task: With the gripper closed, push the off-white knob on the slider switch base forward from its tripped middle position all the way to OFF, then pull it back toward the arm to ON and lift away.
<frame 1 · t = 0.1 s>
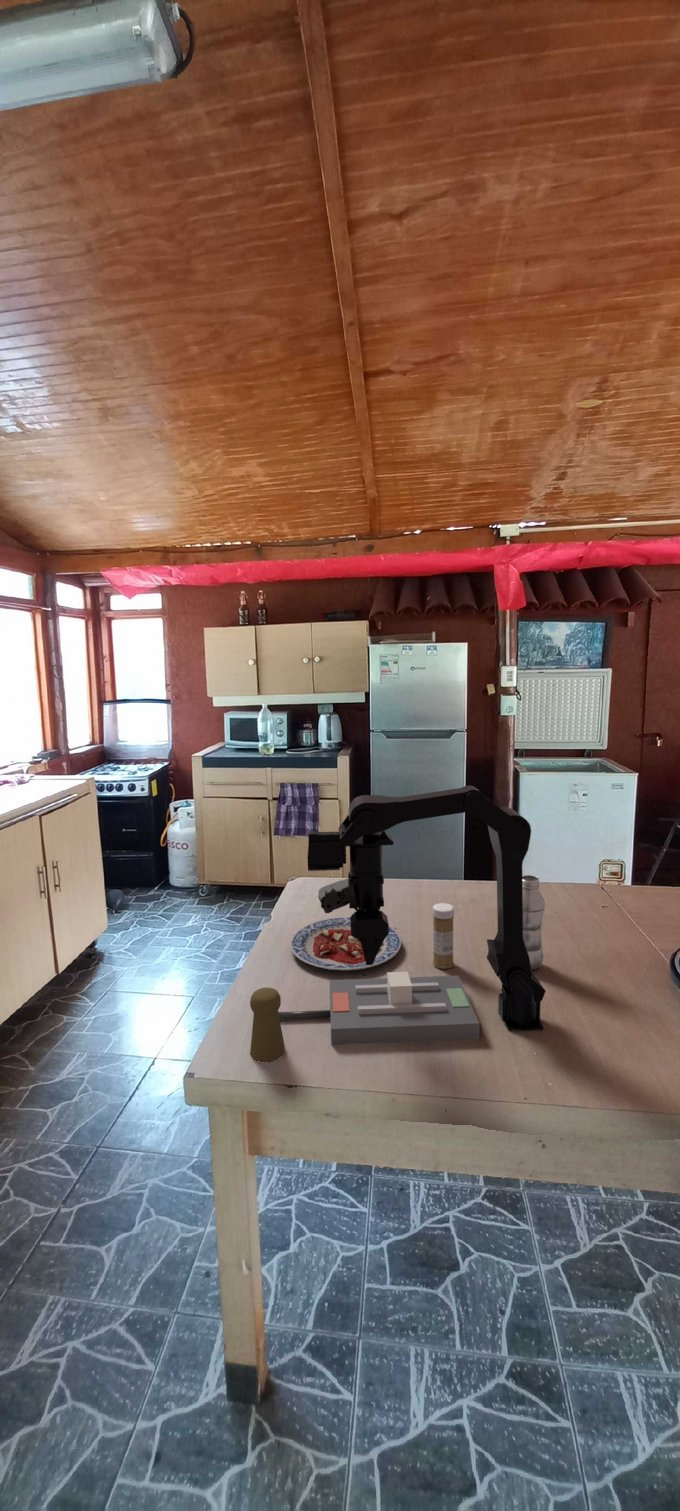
hand: (367, 951, 106), 14 cm above the table, tool pointing down, fingers open, 9 cm apart
olive peg pawn: (267, 1052, 101), on the table
sprinkles bottle: (442, 965, 129), on the table
plastic bottle: (527, 967, 128), on the table
slider switch base: (399, 1014, 111), on the table
ceramic plate: (345, 950, 137), on the table
switch knob: (399, 988, 110), point 5 cm above the table, slide at 4.0 cm
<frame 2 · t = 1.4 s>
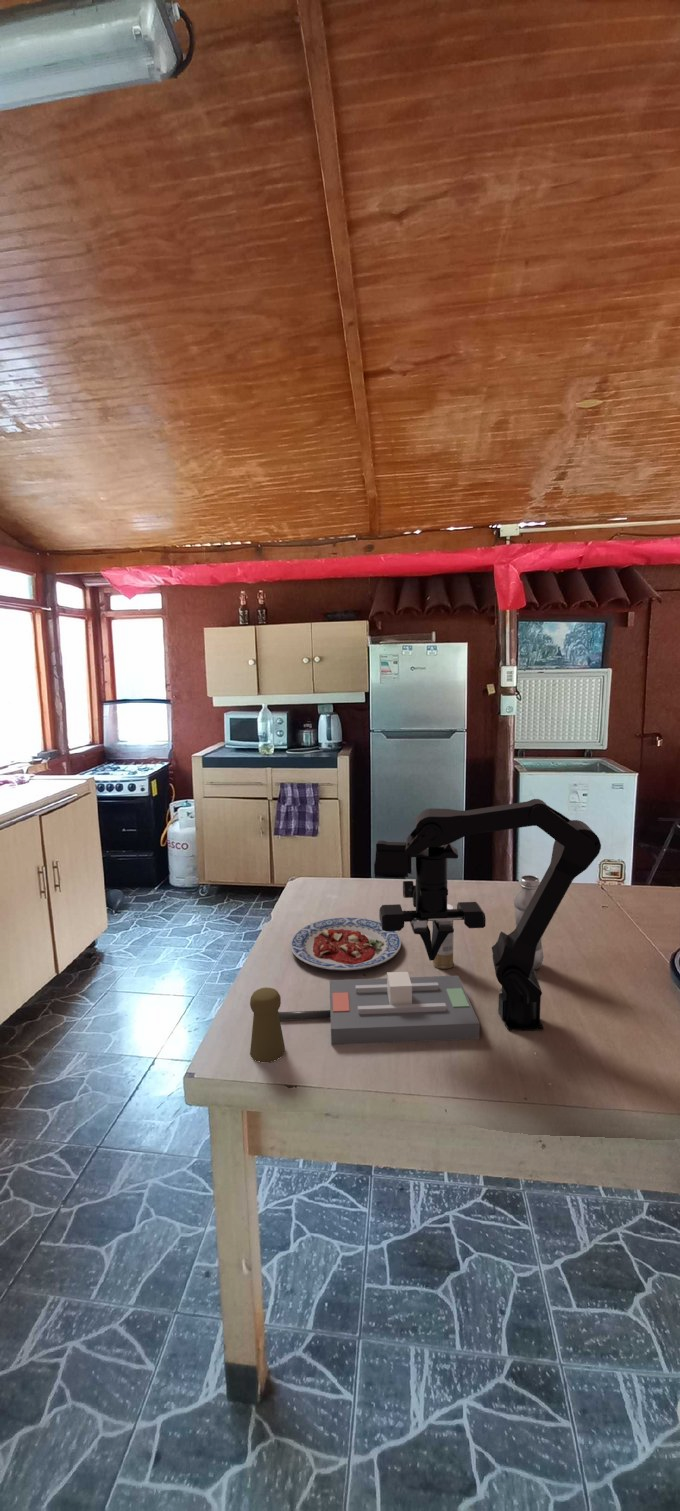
hand: (431, 959, 109), 11 cm above the table, tool pointing down, fingers closed
nothing on the table moved.
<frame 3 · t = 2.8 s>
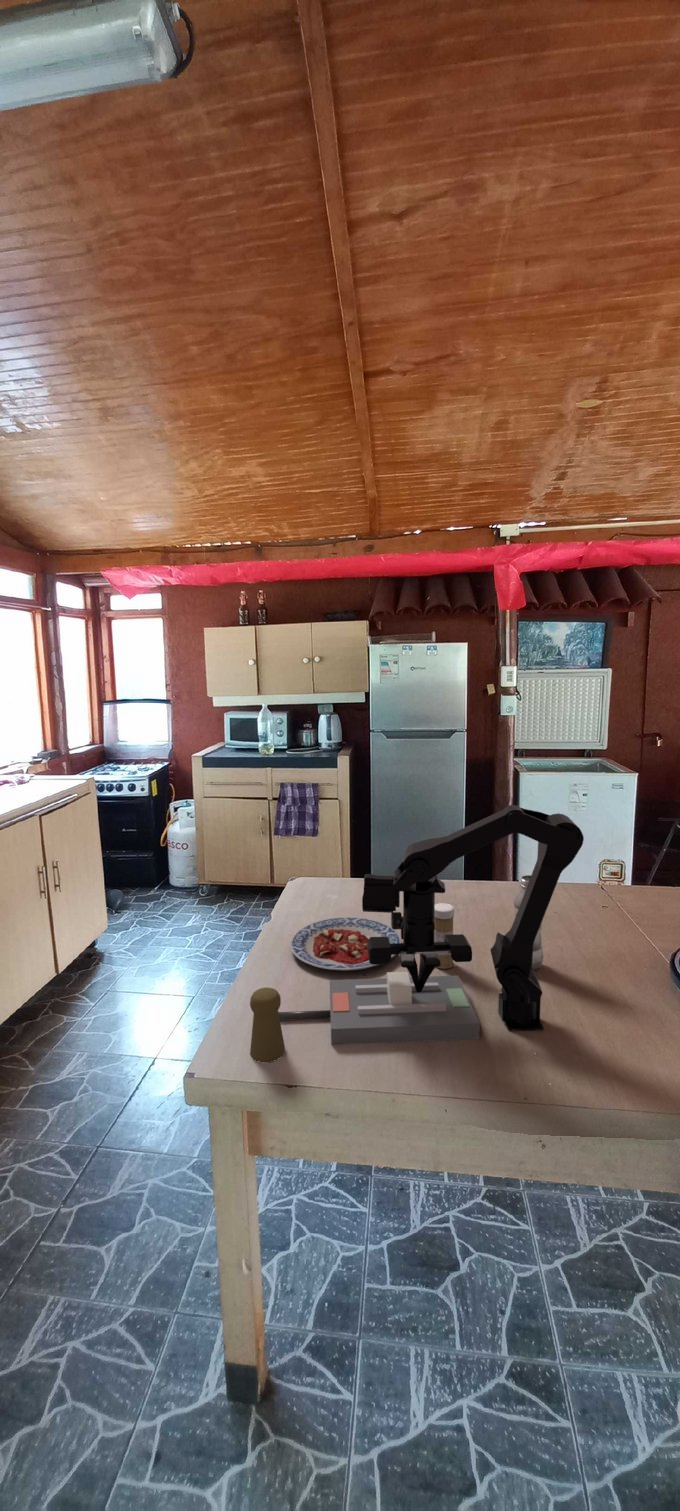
hand: (418, 991, 110), 5 cm above the table, tool pointing down, fingers closed
switch knob: (399, 988, 110), point 5 cm above the table, slide at 4.0 cm, touching gripper
everything else where it was.
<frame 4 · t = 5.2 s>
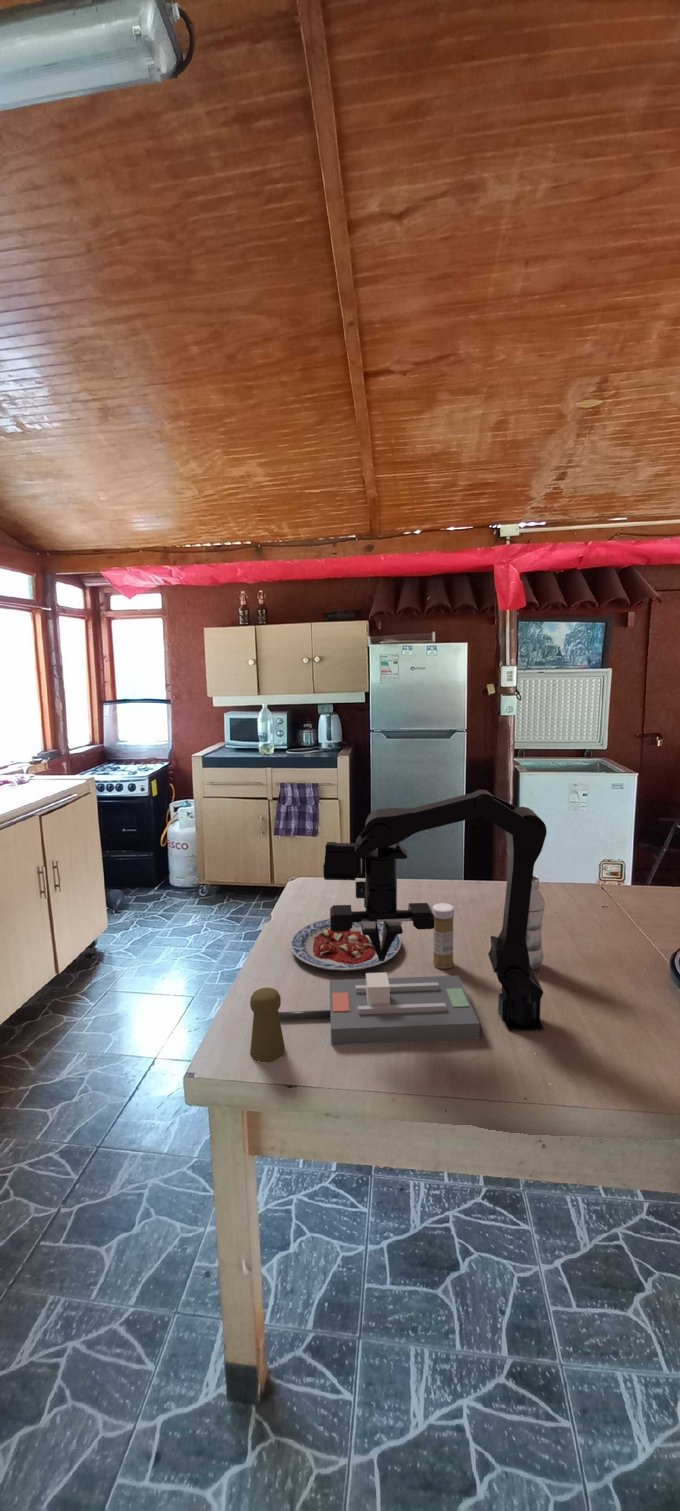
hand: (381, 960, 109), 11 cm above the table, tool pointing down, fingers closed
switch knob: (377, 989, 110), point 5 cm above the table, slide at 8.1 cm
everything else where it was.
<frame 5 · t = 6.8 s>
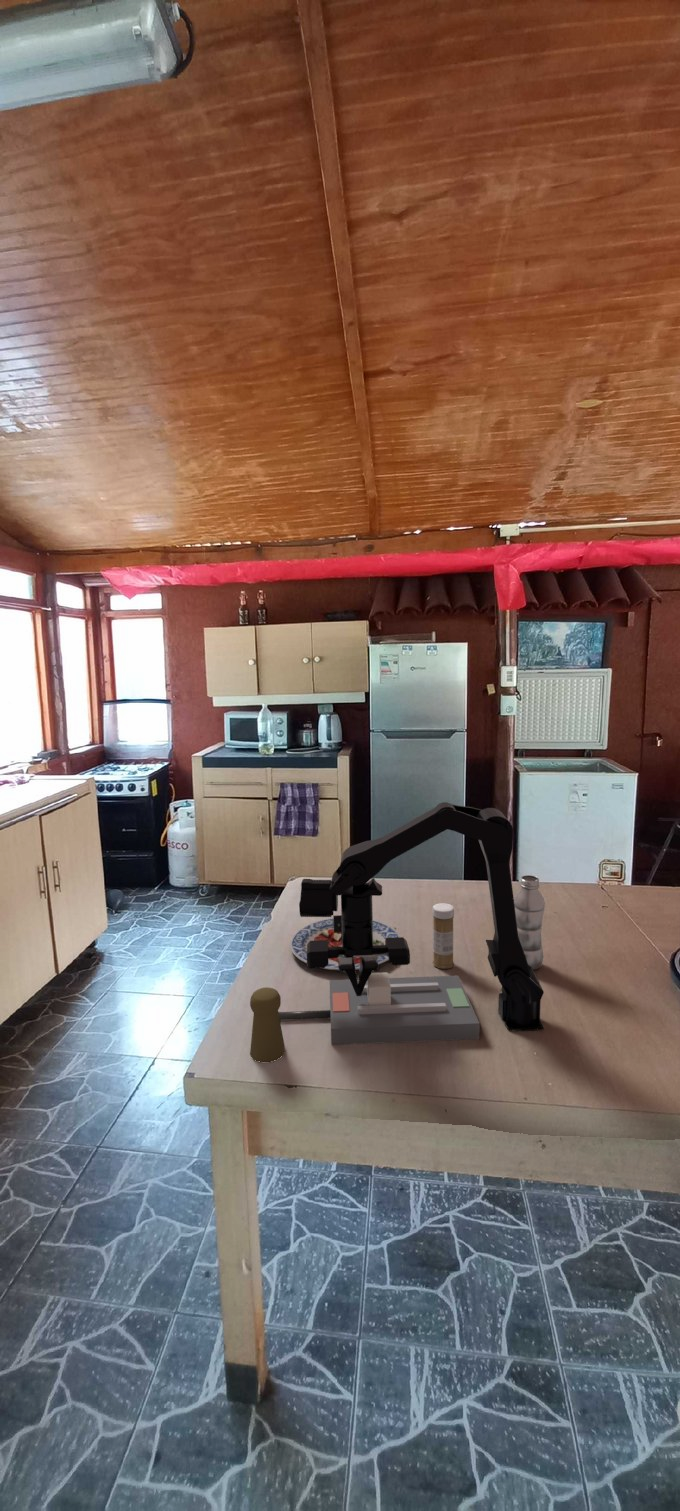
hand: (358, 994, 110), 4 cm above the table, tool pointing down, fingers closed
switch knob: (378, 989, 110), point 5 cm above the table, slide at 7.9 cm, touching gripper
everything else where it was.
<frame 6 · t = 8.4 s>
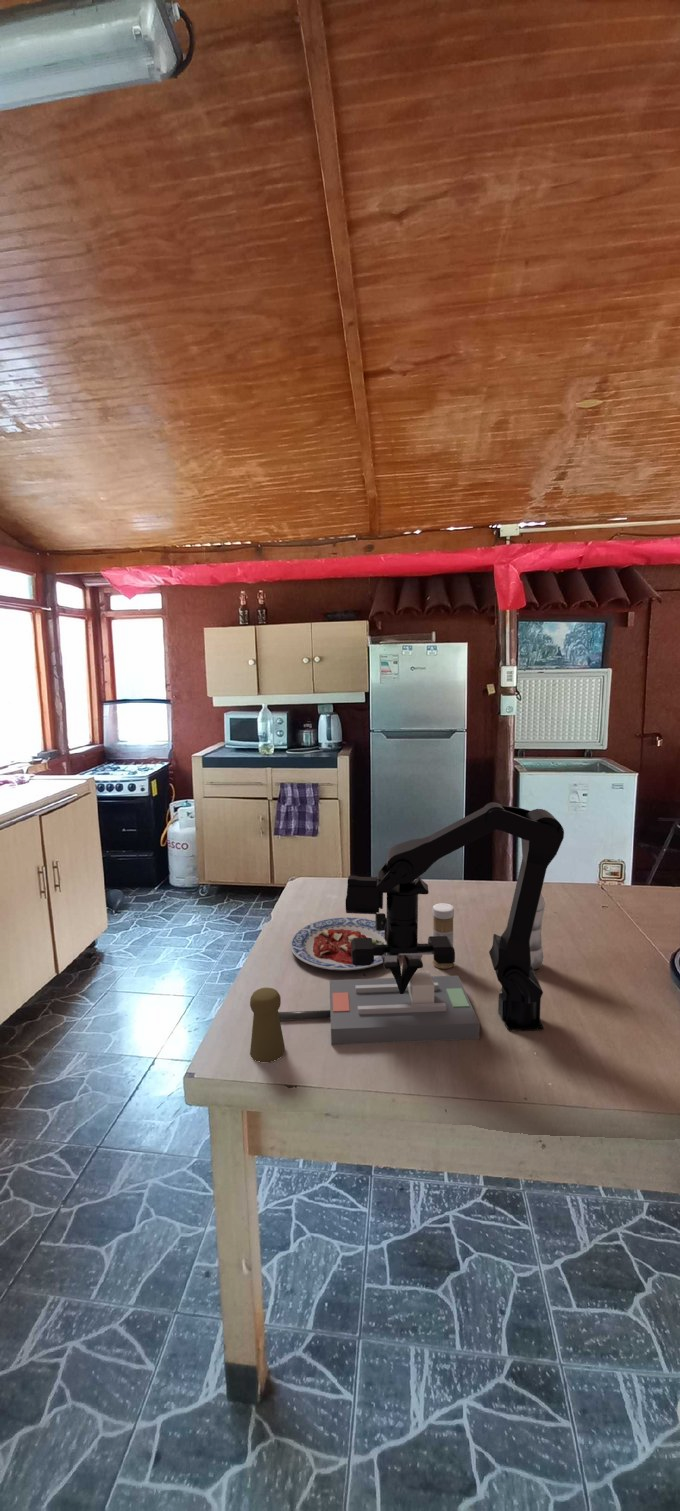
hand: (401, 992, 110), 4 cm above the table, tool pointing down, fingers closed
switch knob: (421, 988, 110), point 5 cm above the table, slide at -0.1 cm, touching gripper
everything else where it was.
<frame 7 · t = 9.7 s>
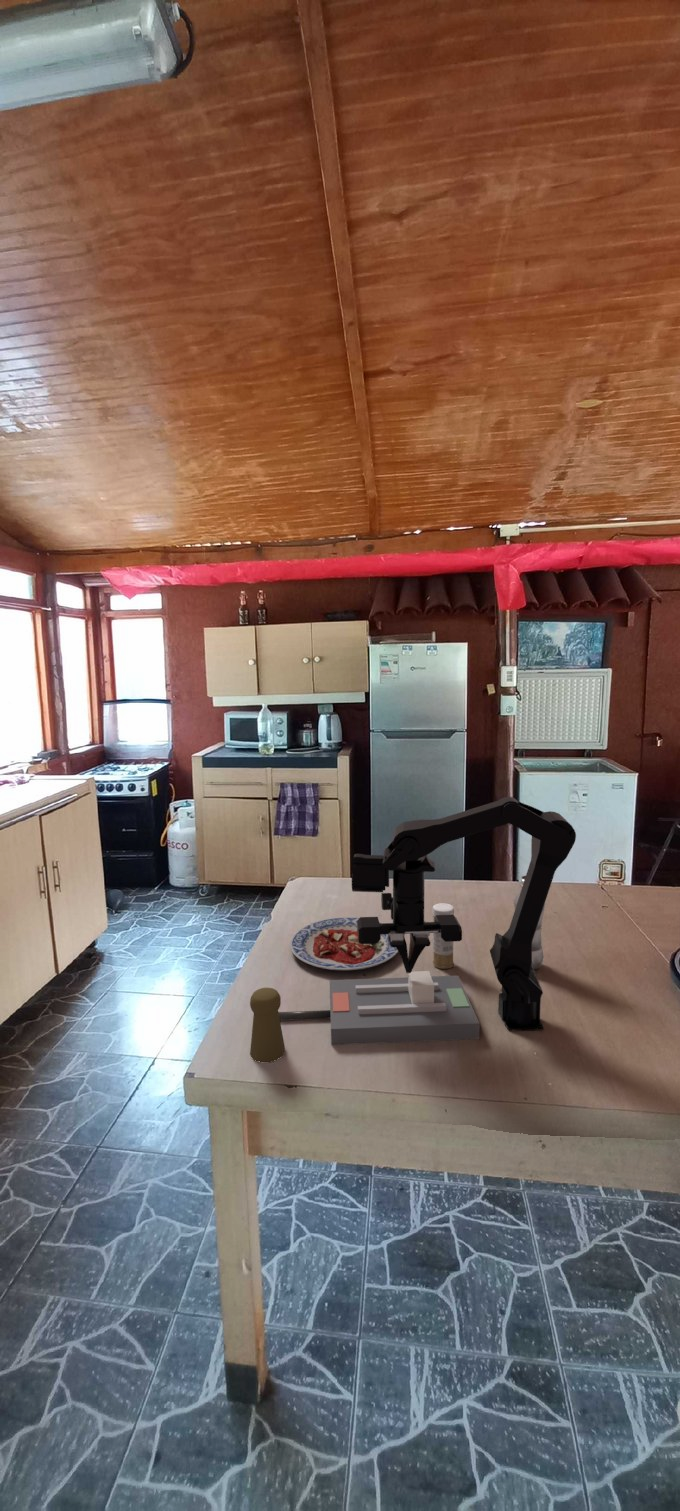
hand: (408, 971, 110), 9 cm above the table, tool pointing down, fingers closed
switch knob: (420, 988, 110), point 5 cm above the table, slide at -0.1 cm
everything else where it was.
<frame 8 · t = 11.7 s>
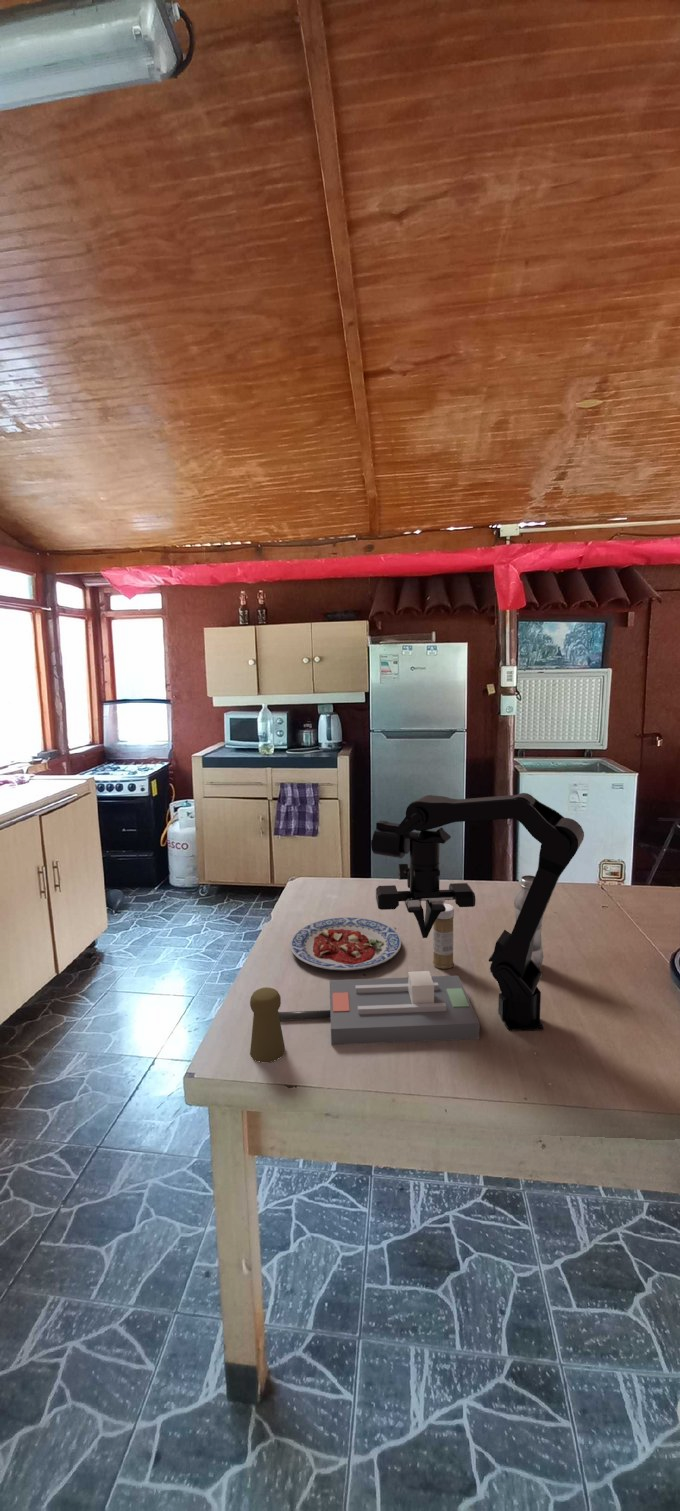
hand: (424, 937, 116), 12 cm above the table, tool pointing down, fingers closed
nothing on the table moved.
at the end: switch knob slide at -0.1 cm; olive peg pawn moved 0.2 cm from its start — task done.
